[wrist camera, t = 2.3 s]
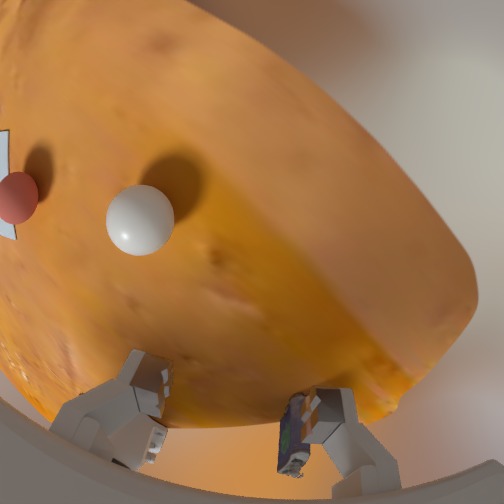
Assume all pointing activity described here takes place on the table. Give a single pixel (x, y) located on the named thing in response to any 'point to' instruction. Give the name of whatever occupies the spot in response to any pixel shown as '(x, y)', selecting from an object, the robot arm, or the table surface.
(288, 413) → the flask
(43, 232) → the table surface
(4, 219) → the object ball
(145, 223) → the cue ball
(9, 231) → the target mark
